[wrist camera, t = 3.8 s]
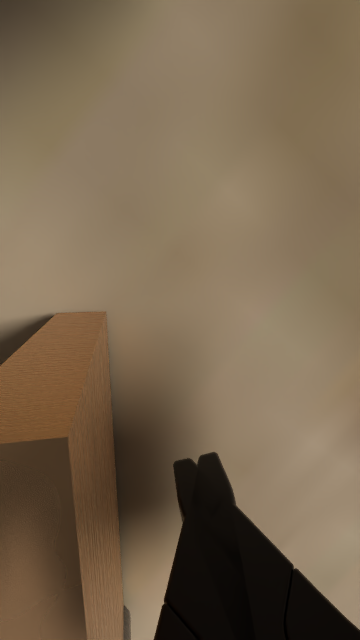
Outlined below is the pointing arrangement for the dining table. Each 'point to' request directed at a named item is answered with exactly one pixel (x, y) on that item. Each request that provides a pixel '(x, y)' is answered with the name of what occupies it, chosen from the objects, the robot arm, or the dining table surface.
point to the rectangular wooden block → (60, 487)
